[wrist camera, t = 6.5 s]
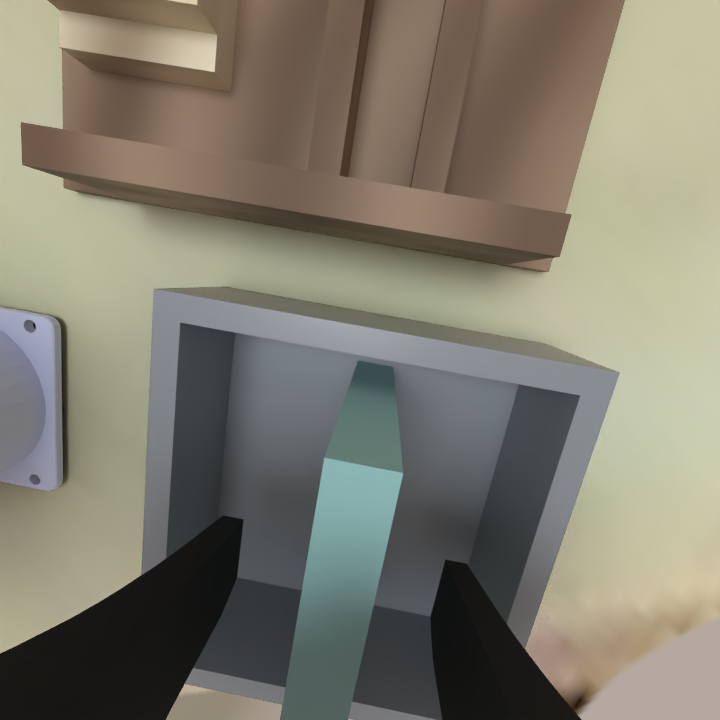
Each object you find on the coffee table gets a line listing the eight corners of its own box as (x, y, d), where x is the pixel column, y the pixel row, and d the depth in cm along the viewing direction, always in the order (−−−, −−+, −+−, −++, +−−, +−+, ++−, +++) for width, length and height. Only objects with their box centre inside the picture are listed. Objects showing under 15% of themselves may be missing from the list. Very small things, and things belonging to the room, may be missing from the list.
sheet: (319, 573, 16) (259, 840, 9) (358, 360, 14) (324, 457, 6) (350, 579, 16) (317, 853, 8) (393, 366, 14) (403, 472, 6)
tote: (199, 575, 17) (137, 673, 13) (224, 286, 14) (153, 288, 10) (463, 628, 17) (490, 749, 13) (546, 344, 14) (619, 372, 10)
